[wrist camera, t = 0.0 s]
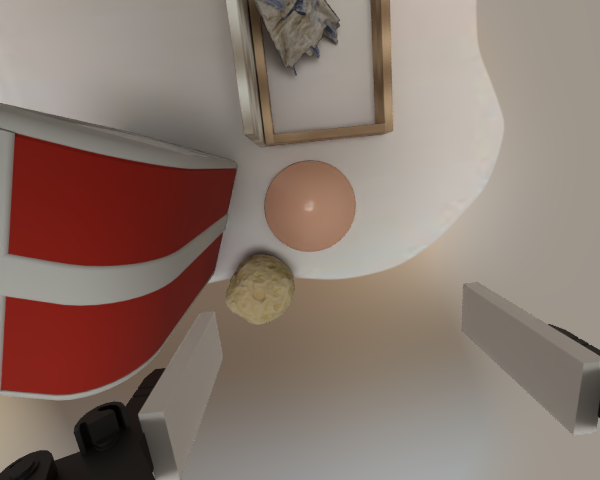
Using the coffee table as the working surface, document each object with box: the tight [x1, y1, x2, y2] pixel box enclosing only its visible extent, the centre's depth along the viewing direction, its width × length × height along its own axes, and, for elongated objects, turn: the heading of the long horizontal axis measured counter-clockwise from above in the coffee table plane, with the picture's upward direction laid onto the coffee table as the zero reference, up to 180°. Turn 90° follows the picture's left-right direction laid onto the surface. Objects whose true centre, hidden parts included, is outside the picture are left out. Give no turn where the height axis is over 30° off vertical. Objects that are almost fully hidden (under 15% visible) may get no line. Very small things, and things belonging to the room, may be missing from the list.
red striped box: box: [0, 103, 237, 400], centre depth 30 cm, size 16×18×27 cm
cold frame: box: [226, 0, 393, 147], centre depth 31 cm, size 26×17×16 cm, turn 6°
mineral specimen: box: [254, 0, 340, 76], centre depth 32 cm, size 15×8×4 cm
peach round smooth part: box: [265, 161, 356, 252], centre depth 43 cm, size 13×13×1 cm
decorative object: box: [226, 254, 295, 324], centre depth 42 cm, size 9×10×10 cm
